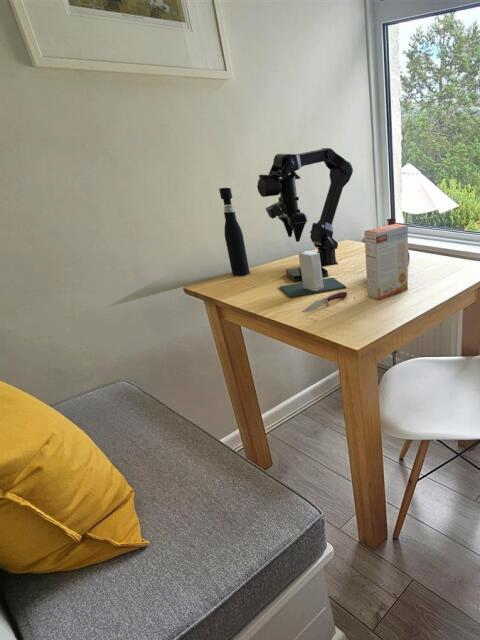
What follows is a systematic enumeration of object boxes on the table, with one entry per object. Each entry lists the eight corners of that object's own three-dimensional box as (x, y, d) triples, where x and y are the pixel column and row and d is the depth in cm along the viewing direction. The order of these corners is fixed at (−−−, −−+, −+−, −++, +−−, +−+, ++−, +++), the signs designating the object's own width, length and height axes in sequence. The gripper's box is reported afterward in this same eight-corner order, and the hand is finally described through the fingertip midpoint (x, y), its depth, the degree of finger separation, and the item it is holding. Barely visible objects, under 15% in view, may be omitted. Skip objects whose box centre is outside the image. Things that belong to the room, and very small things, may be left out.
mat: (333, 279, 156) (332, 277, 155) (346, 288, 146) (346, 286, 146) (279, 288, 148) (279, 286, 147) (290, 298, 139) (290, 296, 138)
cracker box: (395, 285, 148) (395, 222, 137) (408, 289, 144) (409, 225, 133) (366, 295, 139) (363, 229, 129) (378, 300, 136) (377, 232, 125)
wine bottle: (234, 277, 159) (216, 190, 144) (231, 272, 164) (213, 188, 148) (251, 274, 162) (236, 188, 146) (247, 270, 167) (232, 186, 151)
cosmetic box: (324, 288, 144) (321, 252, 138) (314, 292, 141) (310, 255, 135) (311, 285, 148) (308, 249, 141) (302, 288, 145) (297, 252, 138)
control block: (318, 270, 166) (317, 259, 163) (328, 277, 157) (328, 266, 155) (286, 275, 160) (284, 264, 158) (295, 282, 152) (293, 271, 150)
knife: (345, 297, 139) (344, 288, 138) (348, 297, 139) (347, 288, 137) (300, 316, 125) (299, 307, 124) (303, 317, 125) (302, 308, 123)
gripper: (259, 192, 154) (265, 237, 162) (273, 199, 140) (280, 247, 148) (288, 190, 159) (293, 233, 167) (305, 196, 145) (310, 243, 153)
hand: (293, 239), depth 159 cm, fingers open, 9 cm apart
